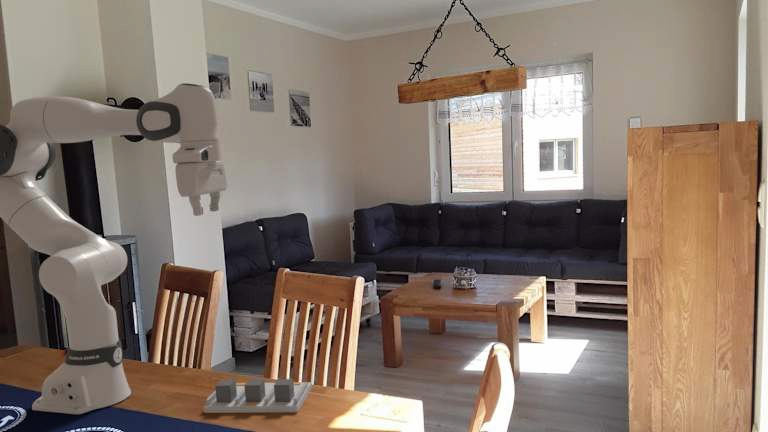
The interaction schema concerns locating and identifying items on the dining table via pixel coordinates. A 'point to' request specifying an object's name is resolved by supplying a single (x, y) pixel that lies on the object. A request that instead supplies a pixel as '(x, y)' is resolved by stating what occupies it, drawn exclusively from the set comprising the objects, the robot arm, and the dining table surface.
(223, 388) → the gray cube
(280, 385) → the grey cube
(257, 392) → the grey cubic block
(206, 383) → the dining table surface
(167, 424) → the dining table surface
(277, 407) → the switch board
